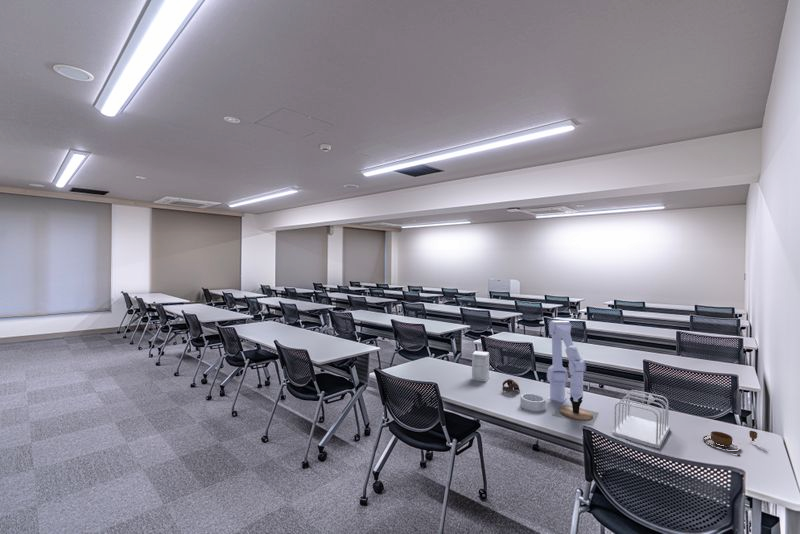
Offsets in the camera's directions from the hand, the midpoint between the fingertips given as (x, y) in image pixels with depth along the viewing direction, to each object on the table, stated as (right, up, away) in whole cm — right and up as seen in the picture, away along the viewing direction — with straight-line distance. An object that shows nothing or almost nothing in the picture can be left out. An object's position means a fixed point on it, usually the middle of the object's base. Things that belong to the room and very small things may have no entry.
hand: (575, 411), depth 185 cm
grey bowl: (-18, -1, +9) cm, 20 cm away
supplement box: (-36, 0, +53) cm, 65 cm away
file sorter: (+21, -3, -18) cm, 28 cm away
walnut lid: (0, -1, 0) cm, 1 cm away
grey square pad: (0, -2, 0) cm, 2 cm away
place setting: (+52, -4, -30) cm, 60 cm away
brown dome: (-23, -1, +31) cm, 39 cm away
